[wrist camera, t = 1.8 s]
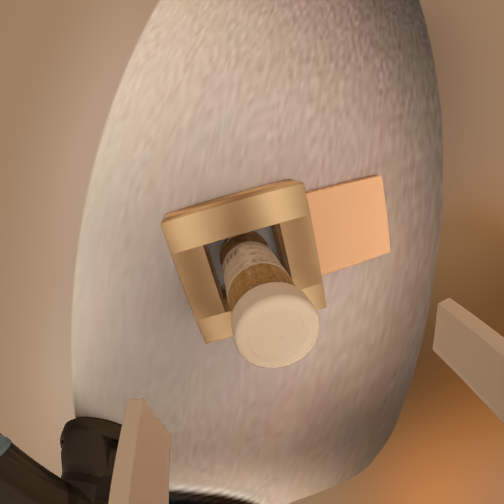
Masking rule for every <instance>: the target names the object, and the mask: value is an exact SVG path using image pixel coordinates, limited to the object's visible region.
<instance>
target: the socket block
mask: <svg viewBox="0 0 504 504" xmlns="http://www.w3.org/2000/svg"><path fill="white" fill-rule="evenodd" d="M271 225H272V229H273V233H274V237H275V242H276V246H277V250H278V254H279V259H280V263H281V265H282V266H283V267H284V269H285V270H286V272H287V273H288V274H289V276H290V278H291V280H292V282H293V283H294V284H295V286H296V287H298V288H299V289H300V290H302V291H303V292H304V293H305V294H306V296H307V297H308V298H309V300H310V301H311V303H312V304H313V306H314V307H315V309H316V310H319V309H322V308H325V307H326V301H325V295H324V289H323V282H322V276H321V270H320V264H319V259H318V253H317V248H316V242H315V237H314V231H313V226H312V221H311V216H310V211H309V206H308V201H307V197H306V192H305V187H304V183H301V182H298V181H294V180H290V179H288V180H284V181H280V182H276V183H272V184H268V185H264V186H261V187H257V188H253V189H249V190H246V191H242V192H238V193H235V194H231V195H228V196H224V197H221V198H217V199H214V200H210V201H207V202H203V203H200V204H197V205H193V206H190V207H187V208H184V209H180V210H177V211H174V212H171V213H168V214H167V215H166V216H165V218H164V219H163V221H162V223H161V226H162V229H163V232H164V235H165V238H166V240H167V243H168V246H169V249H170V252H171V255H172V258H173V261H174V263H175V266H176V269H177V272H178V274H179V277H180V280H181V282H182V285H183V288H184V290H185V293H186V296H187V298H188V301H189V303H190V306H191V309H192V311H193V314H194V316H195V319H196V321H197V324H198V326H199V329H200V331H201V333H202V336H203V338H204V341H205V343H206V344H207V343H211V342H215V341H218V340H222V339H226V338H229V337H233V333H232V328H231V316H232V312H231V308H230V306H229V303H228V299H227V294H226V291H223V292H222V290H221V287H220V284H219V281H218V278H217V275H216V272H215V269H214V266H213V263H212V259H211V256H210V253H209V250H208V247H207V244H209V243H212V242H216V241H219V240H222V239H226V238H229V237H233V236H236V235H240V234H243V233H247V232H250V231H254V230H257V229H261V228H264V227H268V226H271Z"/></svg>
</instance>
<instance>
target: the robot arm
mask: <svg viewBox="0 0 504 504" xmlns="http://www.w3.org/2000/svg"><path fill="white" fill-rule="evenodd" d="M433 350H434V351H435V352H436V353H437V354H438V355H439V356H440V357H441V358H442V359H443V360H444V361H445V362H446V363H447V364H448V365H449V366H450V367H451V368H452V369H453V370H454V371H455V372H456V373H457V374H458V375H459V376H460V377H461V378H462V379H463V380H464V382H465V383H466V384H468V386H469V387H470V388H471V389H472V390H473V391H474V392H475V393H476V394H477V395H478V396H479V397H480V398H481V399H482V400H483V401H484V403H485V404H487V406H488V407H489V408H490V409H491V410H492V411H493V412H494V413H495V414H496V415H497V417H498V418H499V419H500V420H501V421H502V422H503V423H504V338H503V337H502V336H501V335H499V334H498V333H497V332H495V331H494V330H492V328H490V327H489V326H488V325H486V324H485V323H484V322H482V321H481V320H480V319H478V318H477V317H476V316H474V315H472V314H471V313H470V312H469V311H467V310H466V309H465V308H463V307H462V306H460V305H459V304H458V303H456V302H455V301H453V300H452V299H451V298H448V299H446V300H444V301H442V302H441V303H438V308H437V318H436V328H435V336H434V343H433ZM170 440H171V436H170V434H169V433H168V432H167V430H166V429H165V428H164V426H163V425H162V424H161V422H160V421H159V420H158V418H157V417H156V416H155V414H154V413H153V411H152V410H151V409H150V407H149V406H148V404H147V403H146V401H145V400H144V399H143V398H142V399H136V400H129V401H127V405H126V410H125V414H124V419H123V423H122V426H121V425H118V424H116V423H113V422H109V421H106V420H101V419H96V418H76V419H73V420H70V421H69V422H67V423H66V424H65V426H64V429H63V431H62V434H61V439H60V444H61V448H62V451H61V460H62V476H61V478H60V477H58V476H56V475H55V474H53V473H52V472H50V471H49V470H47V469H46V468H45V467H43V466H42V465H40V464H39V463H37V462H36V461H35V460H33V459H32V458H31V457H29V456H28V455H27V454H25V453H24V452H23V451H21V450H20V449H19V448H18V447H17V446H15V445H14V444H13V443H12V442H11V440H10V439H9V438H7V437H4V436H3V435H2V434H0V504H169V463H170Z"/></svg>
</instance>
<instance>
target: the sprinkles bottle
mask: <svg viewBox="0 0 504 504" xmlns="http://www.w3.org/2000/svg"><path fill="white" fill-rule="evenodd" d="M220 260H221V265H222V267H223V277H224V283H225V288H226V294H227V299H228V303H229V306H230V308H231V312H232V316H231V328H232V333H233V338H234V342H235V345H236V348H237V350H238V352H239V353H240V355H241V356H242V357H243V358H244V359H245V360H247V361H248V362H250V363H251V364H253V365H256V366H259V367H263V368H279V367H284V366H287V365H290V364H292V363H294V362H296V361H298V360H300V359H301V358H302V357H304V356H305V355H306V354H307V353H308V352H309V351H310V350H311V349H312V347H313V346H314V344H315V343H316V341H317V338H318V335H319V331H320V320H319V316H318V313H317V311H316V309H315V307H314V306H313V304H312V303H311V301H310V300H309V298H308V297H307V296H306V294H305V293H304V292H303V291H302V290H300V289H299V288H298V287H296V286H295V284H294V283H293V282H292V280H291V278H290V276H289V274H288V273H287V272H286V270H285V269H284V267H283V266H282V265H281V263H280V262H279V260H278V259H277V258H276V256H275V255H274V253H273V252H272V251H271V250H270V249H269V248H268V245H267V243H266V241H265V240H264V239H263V238H262V237H261V236H260V235H258V234H256V233H254V232H247V233H243V234H240V235H236V236H233V237H229V238H228V239H227V240H226V241H225V243H224V244H223V245H222V248H221V251H220Z"/></svg>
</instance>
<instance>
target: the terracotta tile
mask: <svg viewBox="0 0 504 504" xmlns="http://www.w3.org/2000/svg"><path fill="white" fill-rule="evenodd" d="M306 197H307V201H308V206H309V211H310V216H311V221H312V226H313V231H314V237H315V242H316V248H317V253H318V259H319V264H320V270H321V275H324V274H327V273H330V272H333V271H336V270H339V269H342V268H345V267H348V266H351V265H354V264H357V263H360V262H363V261H366V260H369V259H371V258H374V257H377V256H380V255H383V254H386V253H388V252H390V243H389V231H388V221H387V212H386V204H385V196H384V189H383V182H382V176H381V175H375V176H370V177H366V178H362V179H357V180H353V181H349V182H345V183H340V184H336V185H332V186H328V187H324V188H320V189H316V190H312V191H308V192H306Z"/></svg>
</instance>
